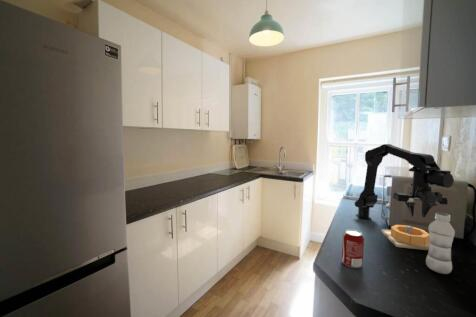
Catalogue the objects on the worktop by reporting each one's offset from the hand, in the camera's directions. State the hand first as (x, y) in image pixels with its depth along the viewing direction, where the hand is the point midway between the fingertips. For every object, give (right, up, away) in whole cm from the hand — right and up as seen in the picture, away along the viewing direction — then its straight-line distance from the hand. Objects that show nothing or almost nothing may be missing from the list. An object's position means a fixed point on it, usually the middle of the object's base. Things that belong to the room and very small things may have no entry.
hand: (417, 216), depth 98 cm
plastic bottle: (-12, -13, -23) cm, 29 cm away
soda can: (-40, -12, -19) cm, 46 cm away
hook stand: (-4, -11, 0) cm, 12 cm away
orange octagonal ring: (-4, -10, 0) cm, 10 cm away
